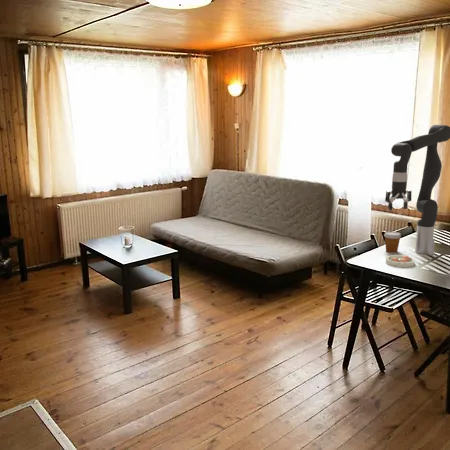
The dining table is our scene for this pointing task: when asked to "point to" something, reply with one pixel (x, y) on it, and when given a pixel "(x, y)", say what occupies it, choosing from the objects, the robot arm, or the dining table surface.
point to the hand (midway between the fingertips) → (397, 209)
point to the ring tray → (399, 264)
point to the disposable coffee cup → (392, 241)
